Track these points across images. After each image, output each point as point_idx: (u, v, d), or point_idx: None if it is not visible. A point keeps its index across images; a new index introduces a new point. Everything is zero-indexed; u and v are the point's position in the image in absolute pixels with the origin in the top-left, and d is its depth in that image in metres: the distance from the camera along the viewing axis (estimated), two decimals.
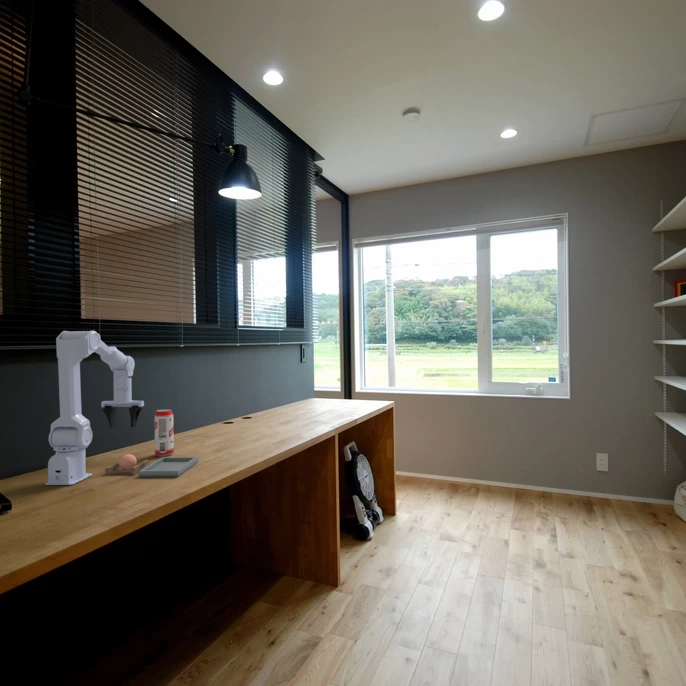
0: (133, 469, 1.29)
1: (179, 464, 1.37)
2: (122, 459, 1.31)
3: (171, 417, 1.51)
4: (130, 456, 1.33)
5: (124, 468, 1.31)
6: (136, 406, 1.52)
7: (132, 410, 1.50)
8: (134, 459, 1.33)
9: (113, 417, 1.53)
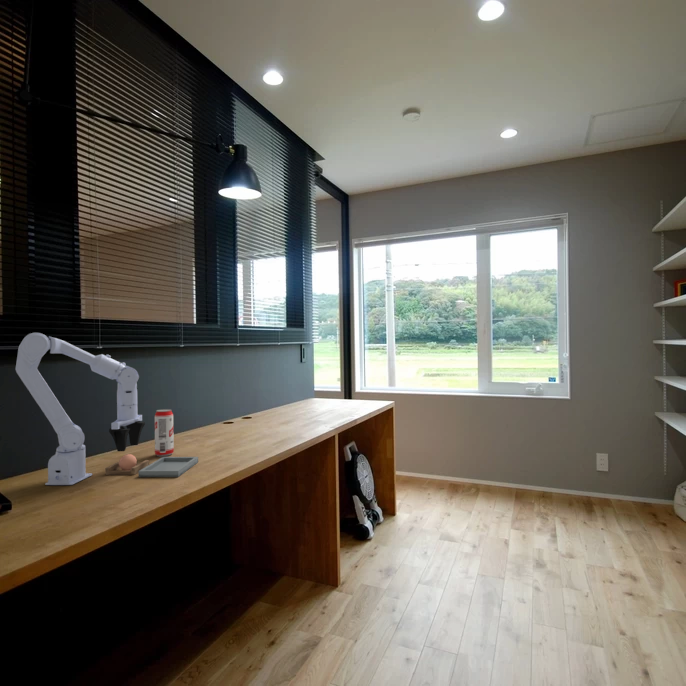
0: (133, 469, 1.29)
1: (179, 464, 1.37)
2: (122, 459, 1.31)
3: (171, 417, 1.51)
4: (130, 456, 1.33)
5: (124, 468, 1.31)
6: None
7: None
8: (134, 459, 1.33)
9: (135, 434, 1.37)
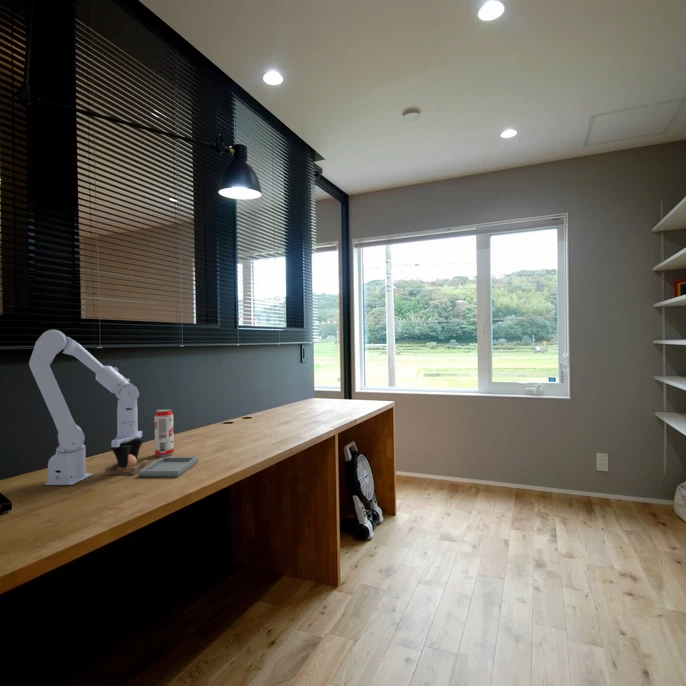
0: (133, 469, 1.29)
1: (179, 464, 1.37)
2: None
3: (171, 417, 1.51)
4: (130, 456, 1.33)
5: (124, 468, 1.31)
6: None
7: None
8: (134, 459, 1.33)
9: (133, 452, 1.36)
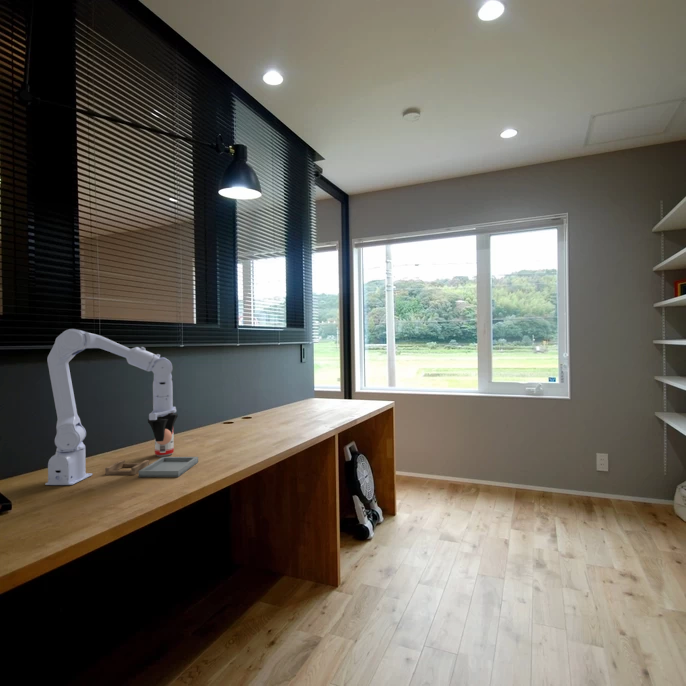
0: (133, 469, 1.29)
1: (179, 464, 1.37)
2: None
3: None
4: (166, 430, 1.33)
5: (160, 442, 1.32)
6: None
7: None
8: (170, 433, 1.34)
9: (168, 426, 1.37)
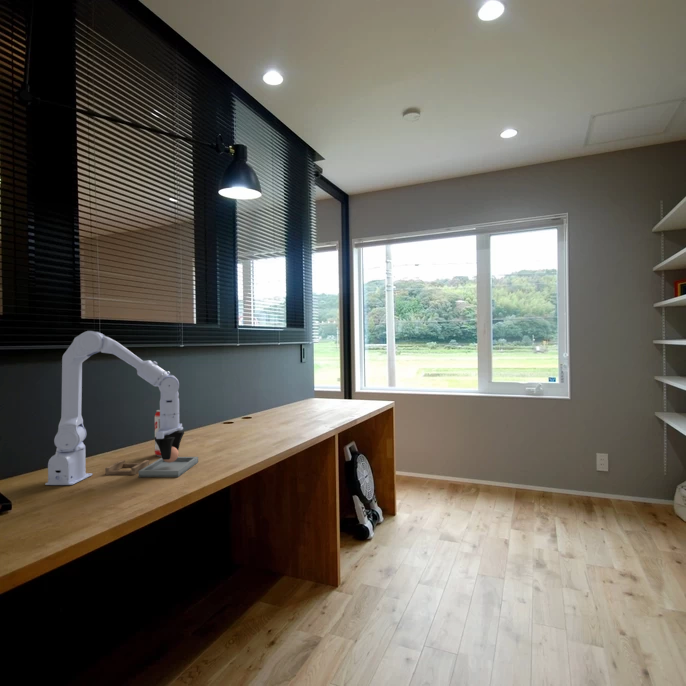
0: (133, 469, 1.29)
1: (179, 464, 1.37)
2: None
3: None
4: (172, 448, 1.33)
5: (167, 460, 1.32)
6: None
7: None
8: (176, 451, 1.34)
9: (174, 444, 1.37)
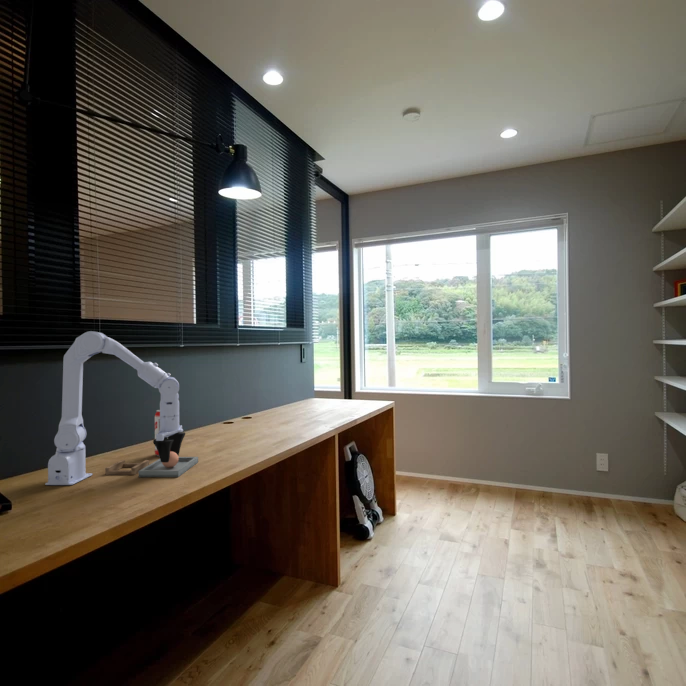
0: (133, 469, 1.29)
1: (179, 464, 1.37)
2: None
3: None
4: (172, 453, 1.33)
5: (167, 465, 1.32)
6: None
7: None
8: (176, 456, 1.34)
9: (176, 445, 1.37)
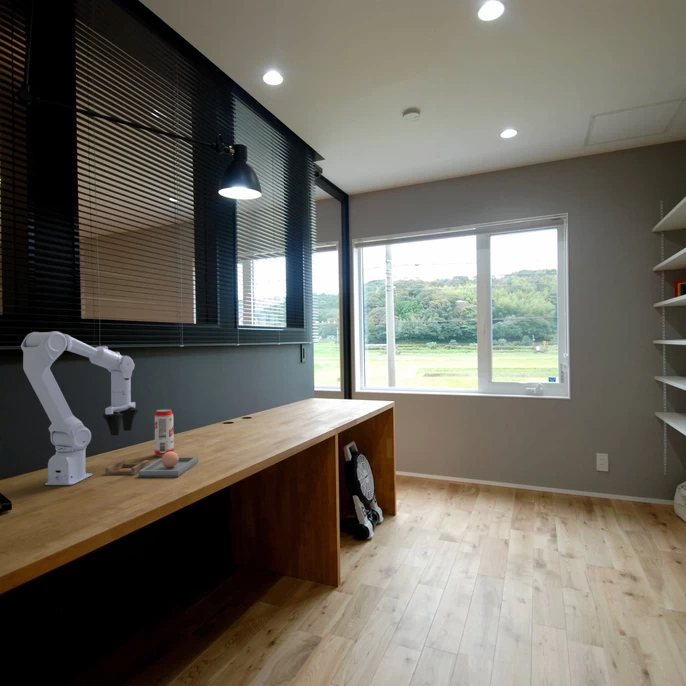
0: (133, 469, 1.29)
1: (179, 464, 1.37)
2: (165, 456, 1.32)
3: (171, 417, 1.51)
4: (173, 453, 1.33)
5: (167, 465, 1.32)
6: None
7: None
8: (176, 456, 1.34)
9: (128, 420, 1.44)
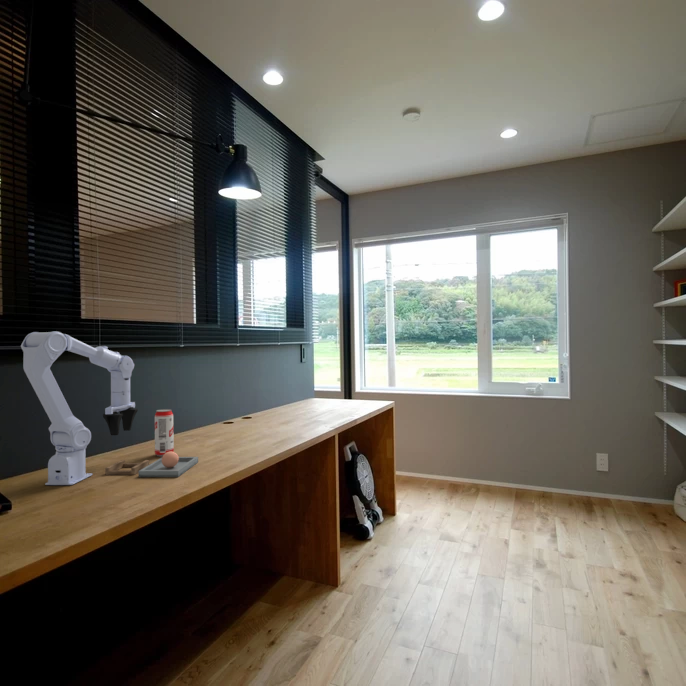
0: (133, 469, 1.29)
1: (179, 464, 1.37)
2: (165, 456, 1.32)
3: (171, 417, 1.51)
4: (173, 453, 1.33)
5: (167, 465, 1.32)
6: None
7: None
8: (176, 456, 1.33)
9: (128, 420, 1.44)
